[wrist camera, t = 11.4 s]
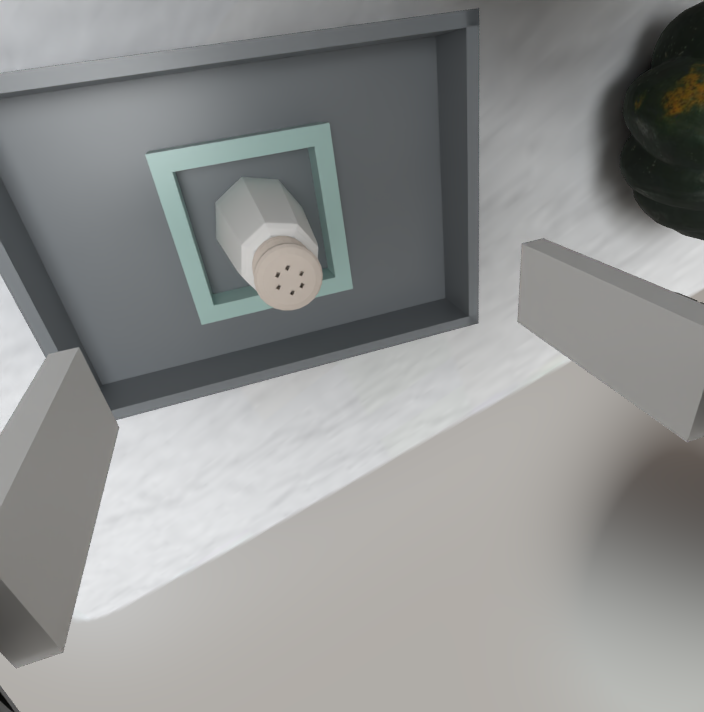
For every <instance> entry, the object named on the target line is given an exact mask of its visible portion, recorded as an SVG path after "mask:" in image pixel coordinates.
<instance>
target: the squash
mask: <svg viewBox="0 0 704 712" xmlns="http://www.w3.org/2000/svg"><path fill="white" fill-rule="evenodd" d="M622 113H623V116H624V120H625V123H626V125H627V127H628V129H629V130H630V132H631V133H632V135H631V136H630V137H629V138H628V140H627V141H626V143H625V145H624V147H623V150H622V153H621V158H620V169H621V172H622V174H623V176H624V178H625V180H626V181H627V183H628V184H629V186H630V187H632V188H633V191H634V198H635V199H636V201H637V202H638V204H639V206H640V207H641V208H642V210H643V211H644V212H645V213H646V214H647V215H649V216H650V217H651V218H652V219H653V220H654V221H656V222H657V223H659V224H661V225H663V226H666V227H668V228H672V229H674V230H676V231H677V232H679V233H681V234H683V235H685V236H689V237H693V238H697V239H701V240H704V1H703V2H701V3H699V4H697V5H695V6H693V7H691V8H689V9H687V10H685V11H684V12H682V13H681V14H680V15H678V16H677V17H676V18H675V19H674V20H673V21H671V22H670V24H669V25H668V26H667V27H666V29H665V30H664V31H663V33H662V34H661V36H660V38H659V40H658V42H657V44H656V46H655V49H654V53H653V57H652V63H651V69H650V70H648V71H646V72H644V73H643V74H642V75H640V76H639V77H638V78H637V79H636V80H635V81H634V82H633V83H632V84H631V85H630V87H629V88H628V90H627V92H626V95H625V100H624V104H623V112H622Z"/></svg>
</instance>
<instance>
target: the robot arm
mask: <svg viewBox="0 0 704 712" xmlns="http://www.w3.org/2000/svg"><path fill="white" fill-rule="evenodd" d="M517 322H518V323H520V324H521V325H523V326H524V327H525V328H527V329H528V330H530V331H531V332H532V333H534V334H535V335H537V336H538V337H539V338H541V339H542V340H544V341H545V342H547V343H548V344H549V345H551V346H552V347H554V348H555V349H556V350H558V351H559V352H561V353H562V354H563V355H565V356H566V357H568V358H569V359H570V360H572V361H573V362H575V363H576V364H578V365H579V366H580V367H582V368H583V369H585V370H586V371H587V372H589V373H590V374H592V375H593V376H595V377H596V378H597V379H599V380H600V381H602V382H603V383H604V384H606V385H607V386H609V387H610V388H611V389H613V390H614V391H616V392H617V393H619V394H620V395H621V396H623V397H624V398H626V399H627V400H628V401H630V402H631V403H633V404H634V405H635V406H637V407H638V408H640V409H641V410H643V411H644V412H645V413H647V414H648V415H649V416H651V417H652V418H654V419H655V420H657V421H658V422H659V423H661V424H662V425H664V426H665V427H666V428H668V429H670V430H671V431H672V432H673V433H675V434H676V435H678V436H679V437H681V438H682V439H683V440H685V441H686V442H689V441H692V440H695V439H698V438H701V437H704V303H701V302H700V303H699V302H697V300H694V299H692V298H689V297H687V296H685V295H682V294H680V293H676V292H673V291H670V290H668V289H665V288H663V287H660V286H658V285H656V284H653V283H651V282H648V281H646V280H643V279H641V278H638V277H636V276H634V275H631V274H629V273H626V272H624V271H621V270H619V269H617V268H614V267H612V266H609V265H607V264H604V263H602V262H600V261H597V260H595V259H592V258H590V257H587V256H585V255H583V254H580V253H578V252H575V251H573V250H570V249H568V248H566V247H563V246H561V245H558V244H556V243H553V242H551V241H549V240H546V239H544V238H543V239H539V240H535V241H530V242H526V243H522V249H521V267H520V285H519V303H518V321H517ZM118 430H119V426H118V424H117V422H116V420H115V418H114V416H113V414H112V412H111V410H110V408H109V406H108V404H107V402H106V400H105V398H104V396H103V394H102V392H101V390H100V388H99V386H98V384H97V382H96V380H95V378H94V376H93V374H92V372H91V370H90V368H89V366H88V364H87V362H86V360H85V358H84V356H83V354H82V352H81V350H80V348H79V347H77V348H73V349H68V350H64V351H60V352H55V353H51V354H48V355H47V357H46V359H45V360H44V362H43V364H42V365H41V367H40V369H39V370H38V372H37V374H36V375H35V377H34V379H33V381H32V382H31V384H30V386H29V387H28V389H27V391H26V392H25V394H24V396H23V397H22V399H21V401H20V402H19V404H18V406H17V407H16V409H15V411H14V412H13V414H12V416H11V417H10V419H9V421H8V422H7V424H6V426H5V427H4V429H3V431H2V432H1V434H0V652H1V653H2V654H3V655H4V656H5V657H6V658H7V659H8V661H10V663H11V664H12V665H13V666H14V667H15V668H19V667H21V666H24V665H28V664H30V663H33V662H36V661H39V660H42V659H45V658H48V657H51V656H54V655H57V654H60V653H63V651H64V647H65V643H66V639H67V635H68V631H69V627H70V622H71V619H72V615H73V611H74V607H75V603H76V599H77V595H78V591H79V587H80V583H81V579H82V575H83V571H84V567H85V563H86V559H87V555H88V551H89V547H90V543H91V539H92V535H93V531H94V527H95V523H96V519H97V515H98V511H99V507H100V502H101V498H102V494H103V490H104V486H105V482H106V478H107V474H108V470H109V466H110V462H111V458H112V454H113V450H114V446H115V442H116V438H117V434H118ZM0 712H19V710H18V709H17V708H16V706H15V705H14V703H13V702H12V701H11V699H10V698H9V697H8V695H7V694H6V693H5V692H4V690H3V689H2V687H1V686H0Z"/></svg>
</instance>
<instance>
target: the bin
mask: <svg viewBox="0 0 704 712" xmlns="http://www.w3.org/2000/svg"><path fill="white" fill-rule="evenodd" d="M241 177H252V178H265V179H278V180H279V181H280V182H281V183H282V184H283V186H284V187H285V188H286V189H287V190H288V191H289V193H290V194H291V195H292V196H293V197H294V198H295V200H296V201H297V202H298V203H299V204H300V205H301V207H302V208H303V211H304V213H305V215H306V218H307V220H308V222H309V225H310V227H311V229H312V232H313V234H314V236H315V239H316V241H317V244H318V261H319V263H320V265H321V267H322V273H323V279H322V285H321V288H320V291H319V292H318V294H317V295H316V297H315V298H314V299H313V300H312V301H311V302H310V303H309V304H307V305H306V306H304V307H302V308H299V309H296V310H279V309H275V308H273V307H271V306H269V305H268V304H266V303H265V302H264V301H263V300H262V299H261V298H260V296H259V294H258V293H257V291H256V290H255V289H254V288H253V287H252V286H251V285H250V284H249V283H247V282H246V281H245V280H244V279H243V277H242V276H241V275H240V274H239V273H238V272H237V270H236V268H235V267H234V265H233V264H232V262H231V261H230V259H229V258H228V256H227V254H226V253H225V251H224V250H223V248H222V247H221V245H220V243H219V242H218V240H217V239H216V208H215V202H216V201H217V200H218V199H219V198H220V197H221V196H222V195H223V194H224V193H225V192H226V191H227V190H228V189H229V188H230V187H231V186H233V185H234V184H235V183H236V182H237V181H238V180H239V179H240V178H241ZM0 274H1V276H2V278H3V280H4V282H5V284H6V285H7V287H8V289H9V291H10V293H11V295H12V296H13V298H14V300H15V302H16V304H17V306H18V307H19V309H20V311H21V313H22V315H23V317H24V319H25V320H26V322H27V324H28V326H29V328H30V330H31V331H32V333H33V335H34V337H35V339H36V341H37V342H38V344H39V346H40V348H41V350H42V352H43V354H44V355H45V357H47V355H48V354H51V353H55V352H60V351H64V350H68V349H73V348H77V347H79V348H80V350H81V352H82V354H83V356H84V358H85V360H86V362H87V364H88V366H89V368H90V370H91V372H92V374H93V376H94V378H95V380H96V382H97V384H98V386H99V388H100V390H101V392H102V394H103V396H104V398H105V400H106V402H107V404H108V406H109V408H110V410H111V412H112V414H113V416H114V418H115V420H118V419H122V418H126V417H129V416H133V415H137V414H141V413H144V412H148V411H152V410H156V409H159V408H163V407H167V406H171V405H174V404H178V403H182V402H186V401H189V400H193V399H197V398H200V397H204V396H208V395H212V394H215V393H219V392H223V391H227V390H230V389H234V388H238V387H242V386H245V385H249V384H253V383H257V382H260V381H264V380H268V379H272V378H275V377H279V376H283V375H286V374H290V373H294V372H298V371H301V370H305V369H309V368H313V367H316V366H320V365H324V364H328V363H331V362H335V361H339V360H343V359H346V358H350V357H354V356H358V355H361V354H365V353H369V352H372V351H376V350H380V349H384V348H387V347H391V346H395V345H399V344H402V343H406V342H410V341H414V340H417V339H421V338H425V337H429V336H432V335H436V334H440V333H444V332H447V331H451V330H455V329H458V328H462V327H466V326H470V325H473V324H477V323H478V285H479V8H478V9H470V10H463V11H456V12H448V13H441V14H433V15H426V16H419V17H411V18H404V19H396V20H389V21H381V22H374V23H367V24H359V25H352V26H344V27H337V28H330V29H322V30H315V31H307V32H300V33H292V34H285V35H278V36H270V37H263V38H255V39H248V40H241V41H233V42H226V43H218V44H211V45H203V46H196V47H189V48H181V49H174V50H166V51H159V52H151V53H144V54H137V55H129V56H122V57H114V58H107V59H100V60H92V61H85V62H77V63H70V64H62V65H55V66H48V67H40V68H33V69H25V70H18V71H11V72H3V73H0Z"/></svg>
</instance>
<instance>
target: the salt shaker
mask: <svg viewBox="0 0 704 712" xmlns="http://www.w3.org/2000/svg"><path fill="white" fill-rule="evenodd" d="M215 208H216V239H217V240H218V242H219V243H220V245H221V247H222V248H223V250H224V251H225V253H226V254H227V256H228V258H229V259H230V261H231V262H232V264H233V265H234V267H235V268H236V270H237V272H238V273H239V274H240V275H241V276H242V277H243V279H244V280H245V281H246V282H247V283H249V284H250V285H251V286H252V287H253V288H254V289H255V290H256V291H257V293H258V294H259V296H260V298H261V299H262V300H263V301H264V302H265V303H266V304H268V305H269V306H271V307H273V308H275V309H279V310H296V309H299V308H302V307H304V306H306V305H307V304H309V303H310V302H311V301H312V300H313V299H314V298H315V297H316V295H317V294H318V292H319V291H320V288H321V285H322V279H323V273H322V267H321V265H320V263H319V261H318V244H317V241H316V239H315V236H314V234H313V232H312V229H311V227H310V225H309V222H308V220H307V218H306V215H305V213H304V211H303V208H302V207H301V205H300V204H299V203H298V202H297V201H296V200H295V198H294V197H293V196H292V195H291V194H290V193H289V191H288V190H287V189H286V188H285V187H284V186H283V184H282V183H281V182H280V181H279V180H278V179H265V178H252V177H241V178H240V179H239V180H238V181H237V182H236V183H235V184H234V185H233V186H231V187H230V188H229V189H228V190H227V191H226V192H225V193H224V194H223V195H222V196H221V197H220V198H219V199H218V200H217V201H216V202H215Z"/></svg>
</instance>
